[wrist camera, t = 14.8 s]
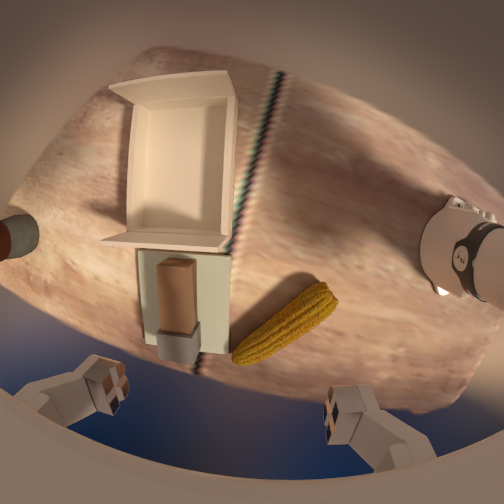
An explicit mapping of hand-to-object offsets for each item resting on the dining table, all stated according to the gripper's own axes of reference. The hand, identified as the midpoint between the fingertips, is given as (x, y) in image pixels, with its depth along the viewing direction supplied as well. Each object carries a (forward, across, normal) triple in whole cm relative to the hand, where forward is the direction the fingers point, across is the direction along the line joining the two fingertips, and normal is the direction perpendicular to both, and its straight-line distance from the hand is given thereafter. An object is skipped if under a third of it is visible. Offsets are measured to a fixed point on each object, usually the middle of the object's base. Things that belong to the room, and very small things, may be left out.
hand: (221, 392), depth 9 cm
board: (+35, +13, +12) cm, 39 cm away
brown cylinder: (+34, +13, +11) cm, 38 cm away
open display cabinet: (+35, +13, -11) cm, 39 cm away
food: (+36, -4, +14) cm, 39 cm away
